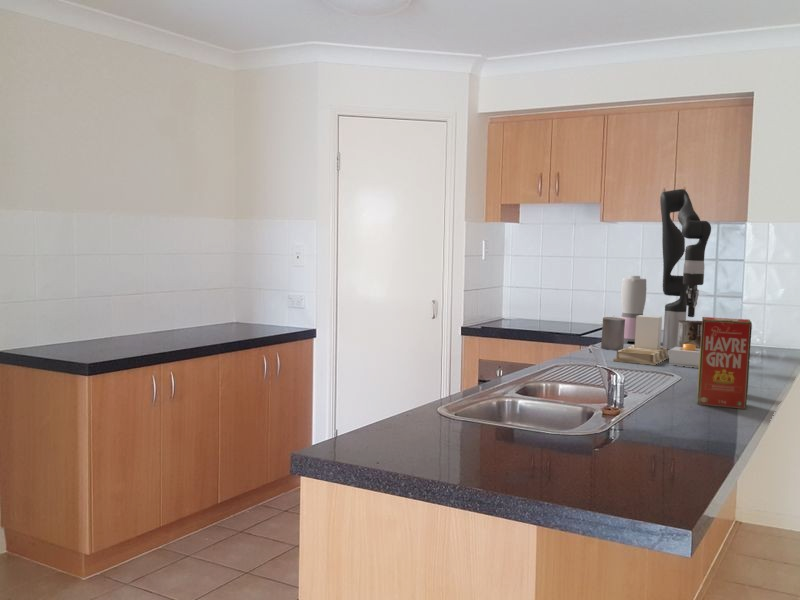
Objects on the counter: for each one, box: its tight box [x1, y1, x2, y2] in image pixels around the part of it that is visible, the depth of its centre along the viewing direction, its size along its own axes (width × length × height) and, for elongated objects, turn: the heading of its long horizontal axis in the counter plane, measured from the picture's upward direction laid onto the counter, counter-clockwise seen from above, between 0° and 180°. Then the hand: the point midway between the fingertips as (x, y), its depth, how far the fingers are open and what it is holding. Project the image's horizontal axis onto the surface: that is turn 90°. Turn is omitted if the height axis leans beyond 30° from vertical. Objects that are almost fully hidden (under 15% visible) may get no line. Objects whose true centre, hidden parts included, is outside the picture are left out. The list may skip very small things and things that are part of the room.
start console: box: [668, 347, 700, 369], centre depth 294 cm, size 12×12×6 cm
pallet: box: [613, 344, 669, 366], centre depth 306 cm, size 27×16×4 cm, turn 149°
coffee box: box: [677, 319, 702, 349], centre depth 307 cm, size 9×6×16 cm
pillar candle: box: [600, 316, 625, 351], centre depth 335 cm, size 10×10×15 cm
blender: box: [620, 274, 647, 344], centre depth 361 cm, size 16×12×32 cm
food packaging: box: [696, 316, 753, 410], centre depth 219 cm, size 13×9×25 cm
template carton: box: [634, 314, 663, 350], centre depth 311 cm, size 6×9×16 cm, turn 59°
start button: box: [682, 344, 696, 351], centre depth 294 cm, size 5×5×5 cm
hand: (691, 316), depth 293 cm, fingers closed
